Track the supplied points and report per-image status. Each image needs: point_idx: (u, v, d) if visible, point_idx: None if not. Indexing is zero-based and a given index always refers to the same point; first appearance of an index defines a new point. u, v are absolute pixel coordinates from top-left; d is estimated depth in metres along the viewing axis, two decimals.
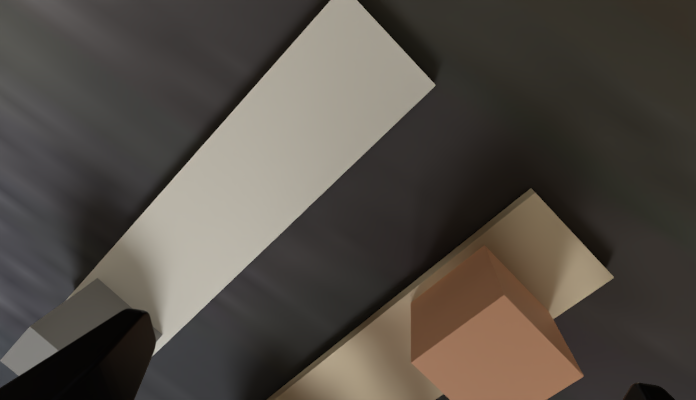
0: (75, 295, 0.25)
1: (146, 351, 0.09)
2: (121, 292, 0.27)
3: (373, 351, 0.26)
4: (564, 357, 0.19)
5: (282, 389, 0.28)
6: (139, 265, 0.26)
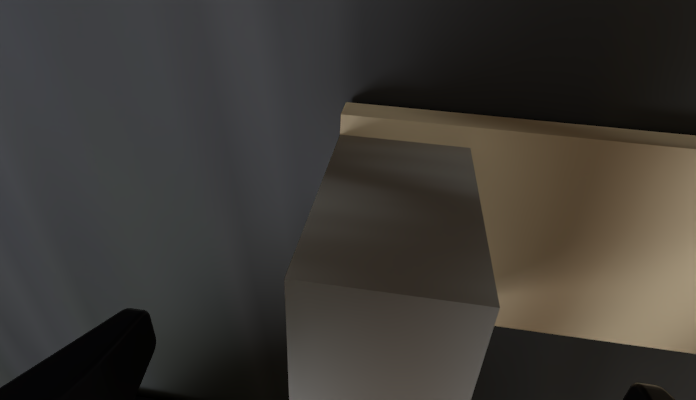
0: None
1: (146, 351, 0.09)
2: None
3: None
4: None
5: (582, 130, 0.10)
6: None
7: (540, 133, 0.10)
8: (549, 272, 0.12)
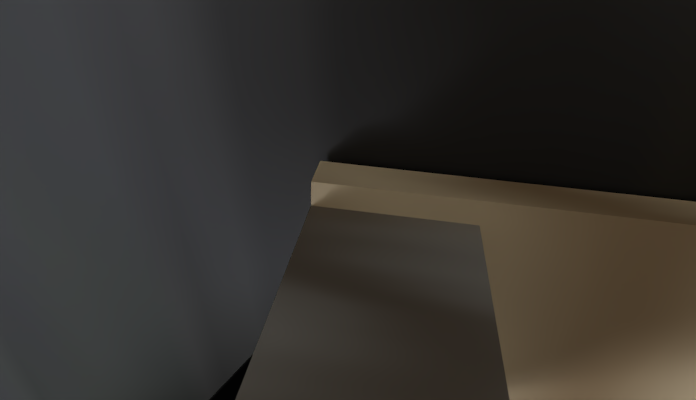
0: None
1: None
2: None
3: None
4: None
5: (626, 203, 0.08)
6: None
7: (572, 209, 0.08)
8: (576, 368, 0.09)
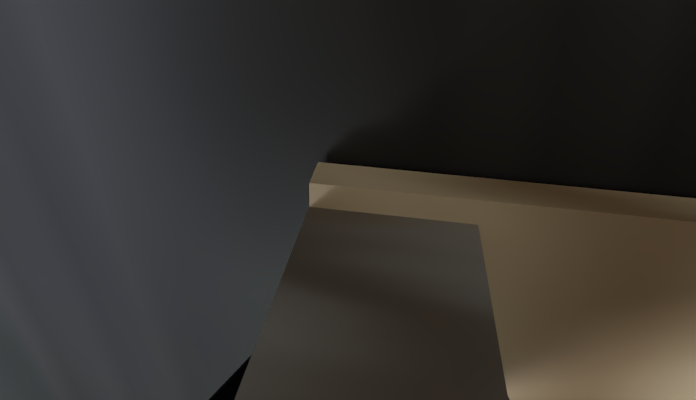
0: None
1: None
2: None
3: None
4: None
5: (625, 201, 0.08)
6: None
7: (570, 207, 0.08)
8: (578, 366, 0.09)
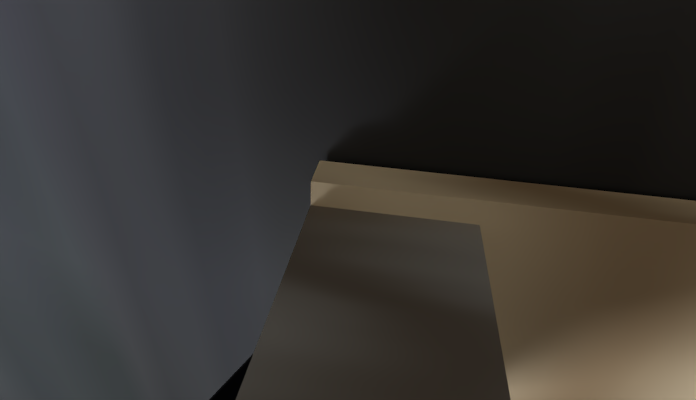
0: None
1: None
2: None
3: None
4: None
5: (626, 202, 0.08)
6: None
7: (572, 209, 0.08)
8: (577, 367, 0.09)
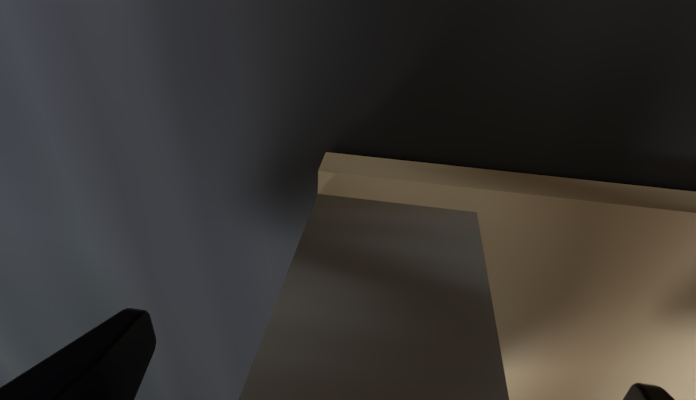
0: None
1: (146, 351, 0.09)
2: None
3: None
4: None
5: (614, 191, 0.08)
6: None
7: (563, 196, 0.08)
8: (569, 350, 0.10)
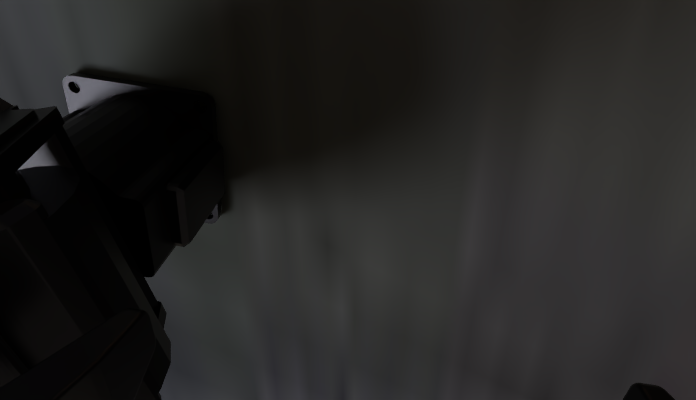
0: None
1: (146, 351, 0.09)
2: None
3: None
4: None
5: None
6: None
7: None
8: None
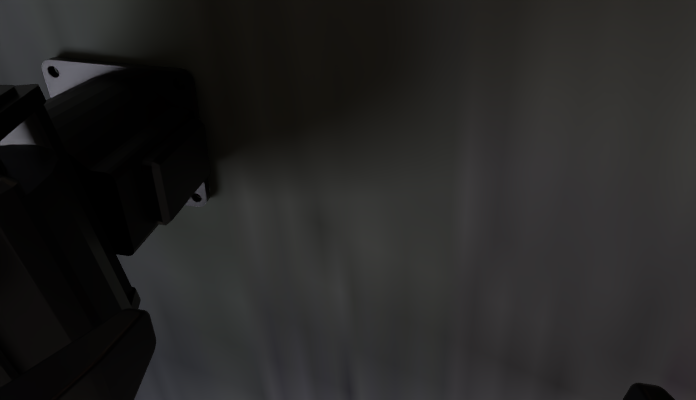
0: None
1: (146, 351, 0.09)
2: None
3: None
4: None
5: None
6: None
7: None
8: None
